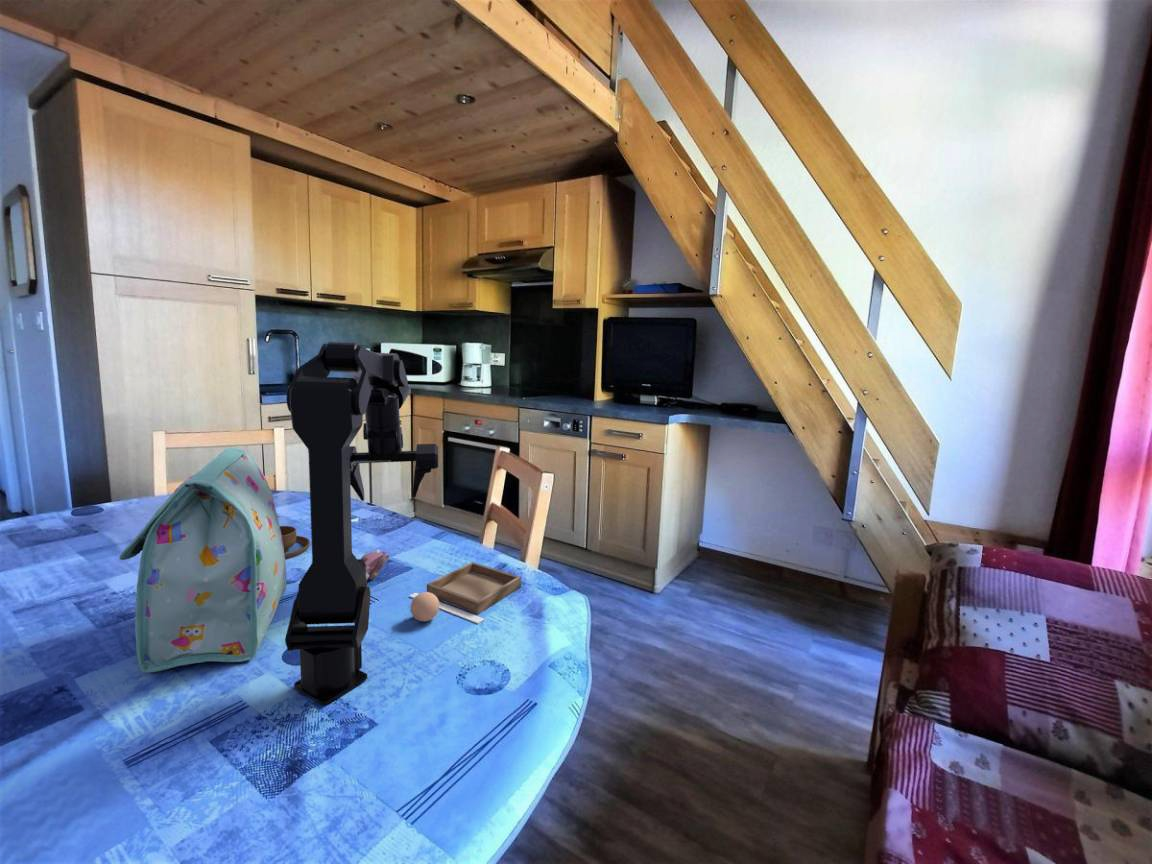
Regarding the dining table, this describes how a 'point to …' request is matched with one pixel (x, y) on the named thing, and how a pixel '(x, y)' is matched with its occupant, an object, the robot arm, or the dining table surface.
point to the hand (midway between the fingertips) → (389, 498)
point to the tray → (474, 587)
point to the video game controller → (374, 563)
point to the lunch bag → (209, 568)
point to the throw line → (456, 611)
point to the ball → (425, 606)
